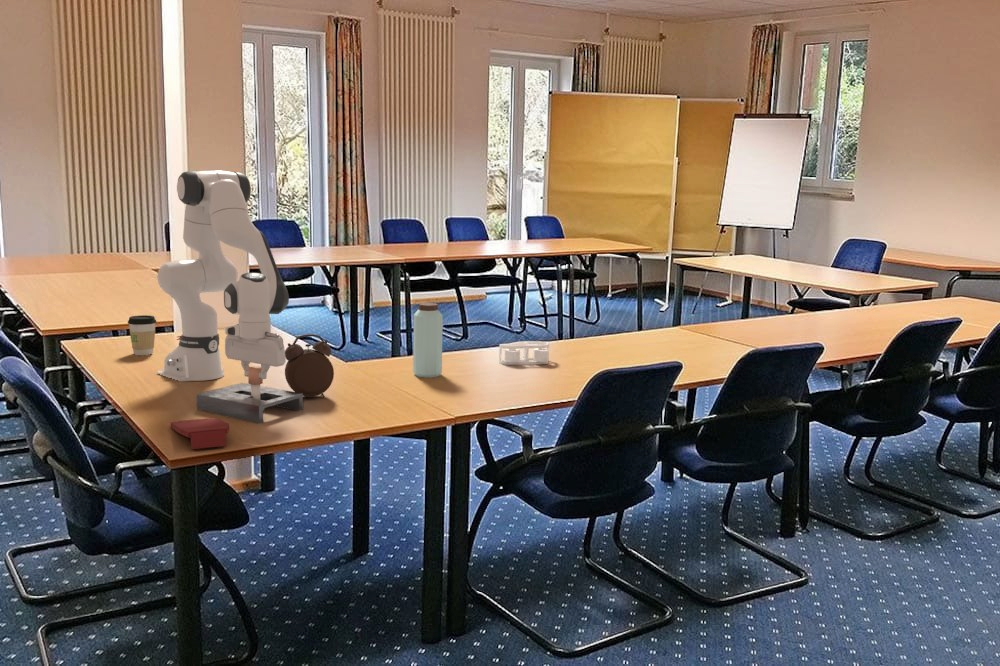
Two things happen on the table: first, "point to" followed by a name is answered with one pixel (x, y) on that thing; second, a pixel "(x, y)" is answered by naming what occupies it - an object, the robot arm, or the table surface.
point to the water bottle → (427, 341)
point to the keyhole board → (246, 401)
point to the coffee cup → (142, 334)
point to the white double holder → (524, 353)
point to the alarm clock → (309, 367)
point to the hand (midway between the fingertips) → (255, 377)
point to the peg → (255, 381)
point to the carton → (203, 431)
